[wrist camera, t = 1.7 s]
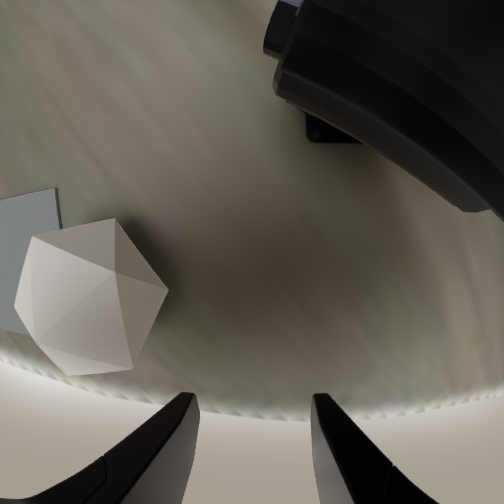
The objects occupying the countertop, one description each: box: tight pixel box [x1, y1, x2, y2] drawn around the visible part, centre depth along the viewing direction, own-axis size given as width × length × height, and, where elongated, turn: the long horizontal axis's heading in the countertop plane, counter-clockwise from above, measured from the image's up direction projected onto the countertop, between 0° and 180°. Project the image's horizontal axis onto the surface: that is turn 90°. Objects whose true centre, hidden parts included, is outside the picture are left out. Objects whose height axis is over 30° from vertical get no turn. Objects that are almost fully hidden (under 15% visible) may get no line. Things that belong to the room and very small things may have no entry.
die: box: [14, 218, 169, 376], centre depth 15 cm, size 8×9×10 cm
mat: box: [0, 188, 62, 336], centre depth 21 cm, size 14×13×1 cm
